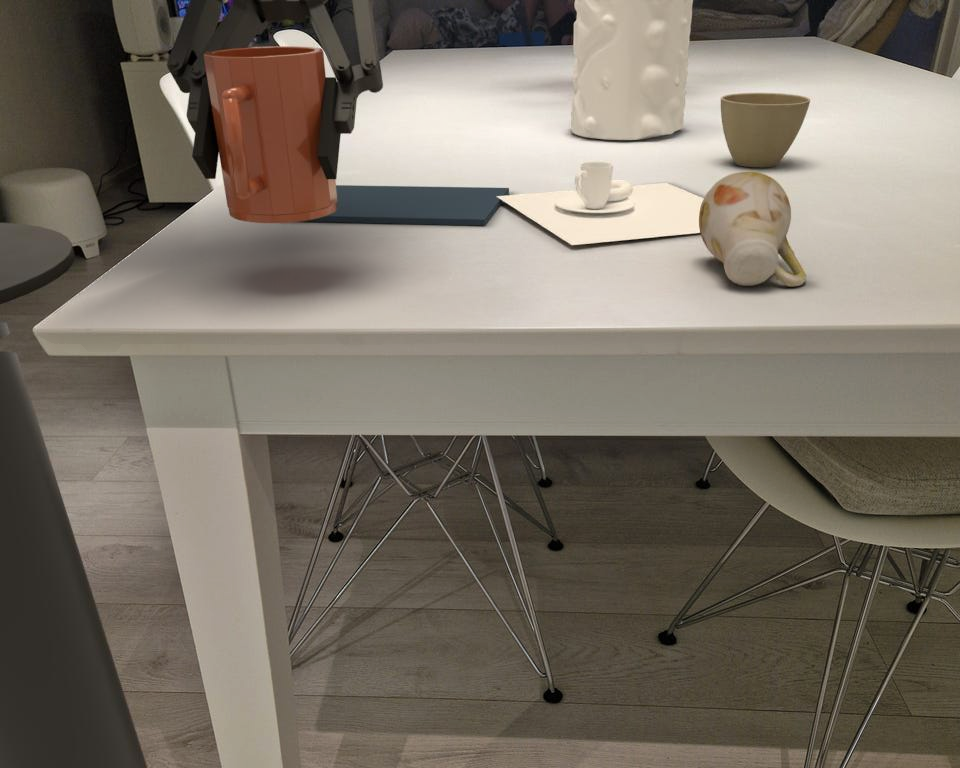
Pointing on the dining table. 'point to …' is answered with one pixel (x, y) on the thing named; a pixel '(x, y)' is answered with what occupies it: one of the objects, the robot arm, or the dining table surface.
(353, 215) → the mat
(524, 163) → the dining table surface
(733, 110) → the flower pot
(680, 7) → the vase
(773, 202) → the floral patterned cup
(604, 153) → the dining table surface
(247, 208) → the tall mug
